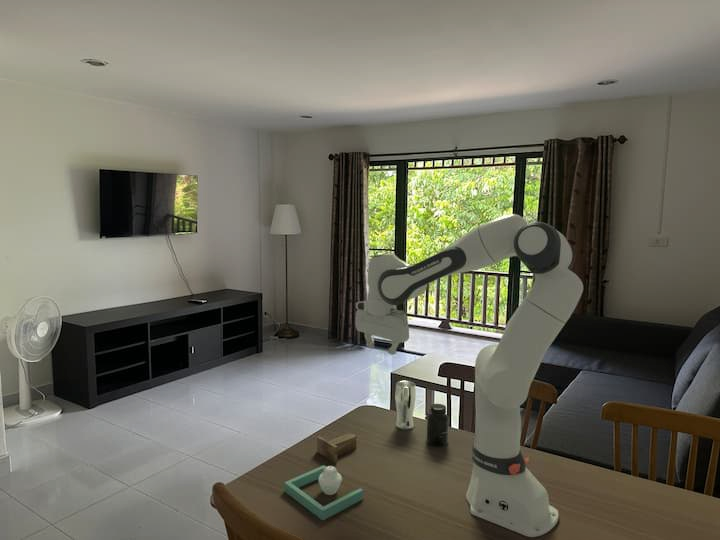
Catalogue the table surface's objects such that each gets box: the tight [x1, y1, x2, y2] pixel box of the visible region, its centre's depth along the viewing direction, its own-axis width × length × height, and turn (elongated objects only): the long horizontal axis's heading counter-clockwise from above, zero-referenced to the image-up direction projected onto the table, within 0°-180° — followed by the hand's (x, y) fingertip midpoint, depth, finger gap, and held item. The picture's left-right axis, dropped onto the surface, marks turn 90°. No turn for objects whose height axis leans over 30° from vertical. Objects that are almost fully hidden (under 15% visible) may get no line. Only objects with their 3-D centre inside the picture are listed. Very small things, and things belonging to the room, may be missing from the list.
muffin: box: [317, 465, 343, 496], centre depth 128 cm, size 6×6×7 cm
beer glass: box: [394, 380, 417, 431], centre depth 168 cm, size 7×7×15 cm
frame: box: [283, 464, 364, 521], centre depth 127 cm, size 16×13×2 cm
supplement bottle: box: [426, 403, 450, 447], centre depth 156 cm, size 7×7×12 cm
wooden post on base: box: [316, 432, 357, 464], centre depth 150 cm, size 9×11×5 cm
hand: (381, 350), depth 150 cm, fingers open, 8 cm apart
